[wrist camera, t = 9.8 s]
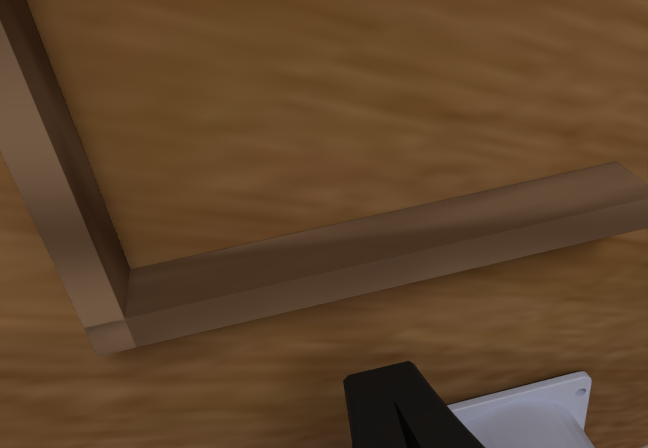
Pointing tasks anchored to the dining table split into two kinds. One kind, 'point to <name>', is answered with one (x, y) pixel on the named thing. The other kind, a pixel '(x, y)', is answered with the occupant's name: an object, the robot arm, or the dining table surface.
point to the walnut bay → (272, 254)
